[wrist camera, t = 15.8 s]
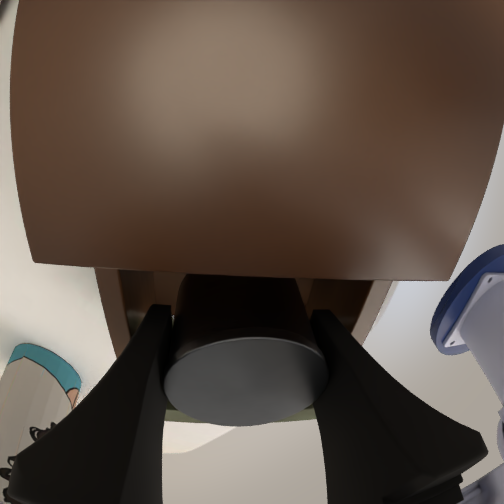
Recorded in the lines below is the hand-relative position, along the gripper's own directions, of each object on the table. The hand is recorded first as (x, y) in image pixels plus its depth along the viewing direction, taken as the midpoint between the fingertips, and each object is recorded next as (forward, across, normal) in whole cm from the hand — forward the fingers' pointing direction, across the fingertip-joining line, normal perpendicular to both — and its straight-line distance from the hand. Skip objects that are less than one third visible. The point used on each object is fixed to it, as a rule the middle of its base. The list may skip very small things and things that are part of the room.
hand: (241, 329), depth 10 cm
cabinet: (+6, 0, -11) cm, 12 cm away
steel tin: (+1, 0, 0) cm, 1 cm away
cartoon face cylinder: (+6, +15, +13) cm, 21 cm away
